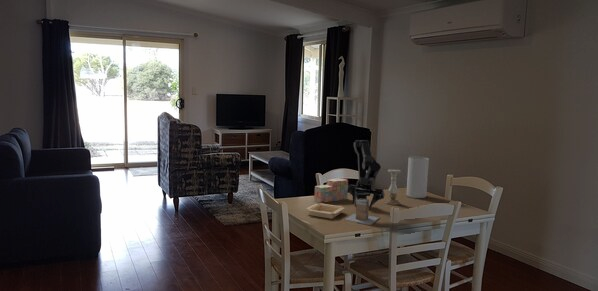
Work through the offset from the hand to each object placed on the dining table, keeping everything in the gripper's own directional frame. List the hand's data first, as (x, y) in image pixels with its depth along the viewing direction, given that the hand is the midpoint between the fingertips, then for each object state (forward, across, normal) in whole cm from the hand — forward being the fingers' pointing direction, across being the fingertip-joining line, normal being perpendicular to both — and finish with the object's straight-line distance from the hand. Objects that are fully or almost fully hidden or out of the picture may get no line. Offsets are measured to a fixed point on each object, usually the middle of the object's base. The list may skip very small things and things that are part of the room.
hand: (361, 205), depth 233 cm
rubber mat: (+5, 0, +7) cm, 8 cm away
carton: (+6, -20, +5) cm, 22 cm away
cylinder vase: (-46, +12, +58) cm, 75 cm away
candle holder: (-26, +4, +38) cm, 46 cm away
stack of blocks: (-17, -30, +29) cm, 45 cm away
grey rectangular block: (+4, 0, +6) cm, 8 cm away
